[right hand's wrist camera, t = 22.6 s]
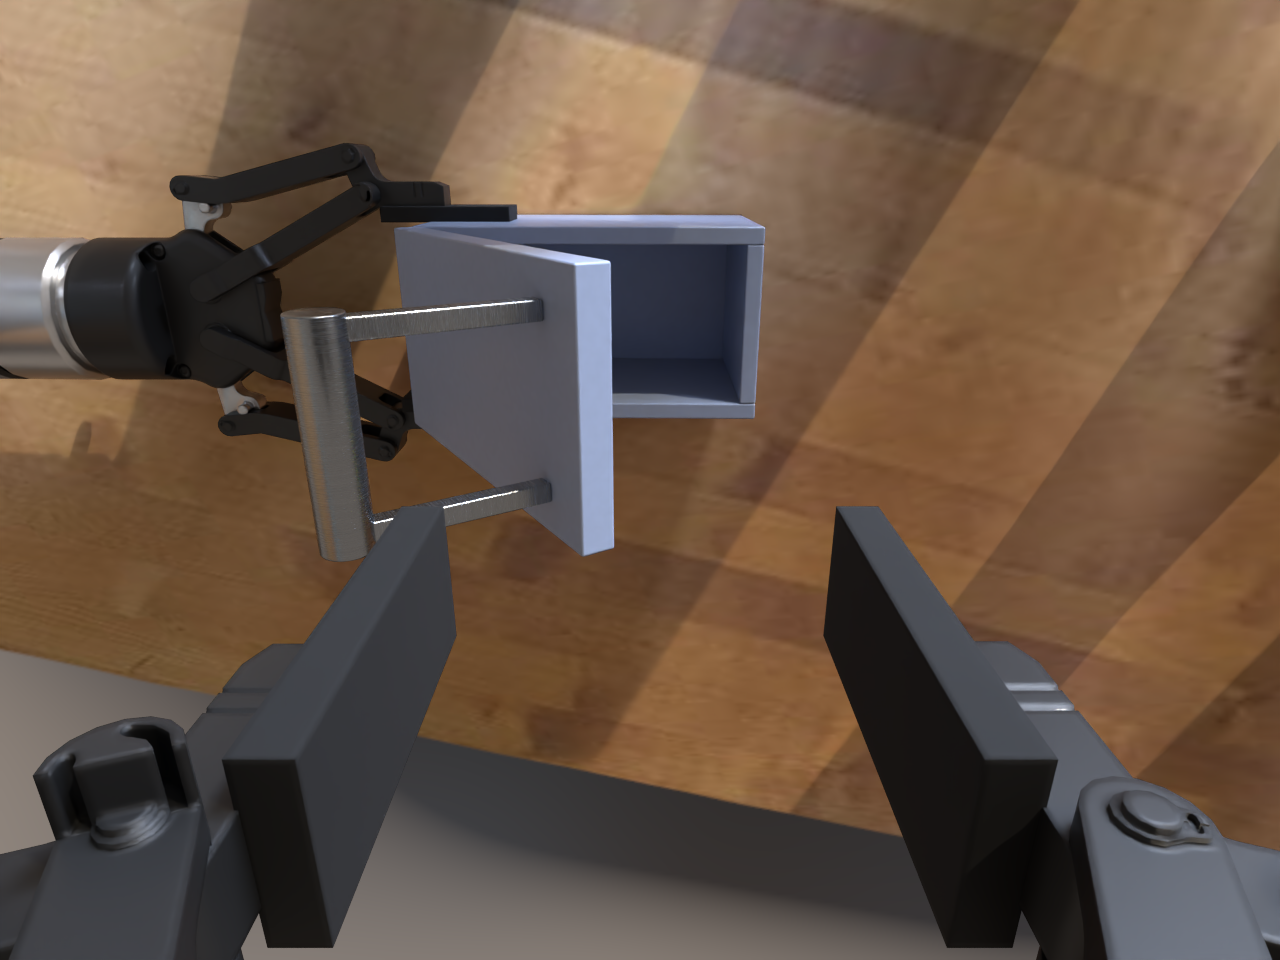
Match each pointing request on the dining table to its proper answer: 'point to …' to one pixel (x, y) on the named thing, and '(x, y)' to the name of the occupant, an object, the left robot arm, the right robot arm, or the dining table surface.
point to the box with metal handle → (471, 388)
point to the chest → (665, 303)
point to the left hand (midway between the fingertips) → (518, 310)
